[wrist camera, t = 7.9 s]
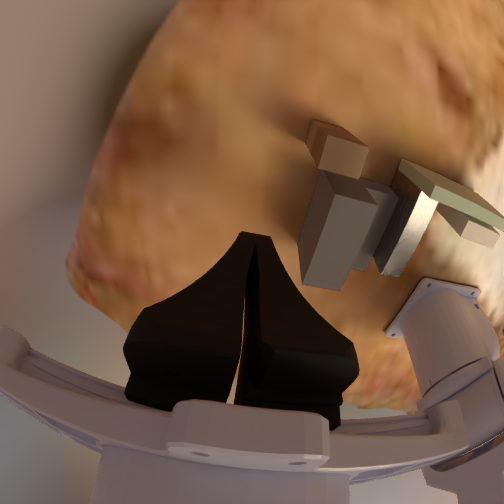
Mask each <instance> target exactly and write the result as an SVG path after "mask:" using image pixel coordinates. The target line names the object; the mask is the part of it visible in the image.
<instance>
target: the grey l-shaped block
mask: <svg viewBox="0 0 504 504" xmlns="http://www.w3.org/2000/svg"><path fill="white" fill-rule="evenodd" d="M391 189H392V190H393V192H394V193H395V194H396V195H397V196H398V197H399V199H398V202H397V204H396V207H395V209H394V211H393V213H392V216H391V218H390V220H389V223H388V225H387V227H386V229H385V231H384V233H383V236H382V238H381V240H380V242H379V244H378V246H377V248H376V250H375V252H374V254H373V257H374V259H375V262H376V264H377V266H378V268H379V271H380V273H381V274H382V275H388V276H393V277H398V278H399V277H400V275H401V274H402V272H403V270H404V268H405V267H406V265H407V263H408V261H409V260H410V258H411V256H412V254H413V252H414V251H415V249H416V247H417V245H418V243H419V241H420V239H421V237H422V235H423V233H424V231H425V229H426V227H427V225H428V223H429V221H430V219H431V217H432V215H433V213H434V211H435V209H436V206H437V204H438V202H440V203H442V204H445V205H447V206H450V207H452V208H454V209H457V210H459V211H461V212H464V213H466V214H468V215H470V216H472V217H475V218H477V219H479V220H481V221H483V222H485V223H487V224H489V225H491V226H493V227H495V228H497V229H499V230H501V231H503V232H504V216H503V215H501V214H500V213H499V212H498V211H497V210H496V209H495V208H494V207H493V206H492V205H490V204H489V203H488V202H487V201H486V200H485V199H483V198H482V197H481V196H480V195H479V194H477V193H476V192H474V191H472V190H470V189H468V188H466V187H464V186H462V185H460V184H458V183H456V182H454V181H452V180H450V179H448V178H446V177H444V176H442V175H440V174H438V173H435V172H433V171H431V170H429V169H426V168H424V167H422V166H419V165H417V164H415V163H412V162H410V161H407V160H405V159H401V162H400V165H399V168H398V170H397V173H396V176H395V178H394V181H393V184H392V186H391Z"/></svg>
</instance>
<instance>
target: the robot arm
mask: <svg viewBox="0 0 504 504" xmlns="http://www.w3.org/2000/svg"><path fill="white" fill-rule="evenodd" d="M480 293H481V291H480V289H479V288H474V287H469V286H464V285H459V284H454V283H449V282H445V281H440V280H435V279H430V278H424V279H422V280H421V281H420V283H419V284H418V286H417V287H416V289H415V290H414V292H413V293H412V295H411V296H410V298H409V299H408V301H407V302H406V304H405V305H404V307H403V308H402V309H401V311H400V312H399V314H398V315H397V316H396V318H395V319H394V320H393V322H392V323H391V325H390V326H389V327H388V328H387V330H386V331H385V336H386V337H391V338H404V339H405V342H406V345H407V348H408V351H409V354H410V357H411V360H412V364H413V367H414V370H415V374H416V377H417V381H418V385H419V388H420V392H421V396H422V398H421V399H420V400H418V401H417V402H416V404H417V409H418V411H416V412H415V413H414V414H409V415H401V416H392V417H382V418H369V419H349V420H348V419H347V420H341V419H340V407H339V406H340V405H342V403H343V399H342V393H343V392H344V391H345V390H346V389H347V388H348V387H349V386H350V385H351V384H352V383H353V382H354V381H355V379H356V378H357V376H358V375H359V370H360V369H359V364H358V358H357V354H356V351H355V348H354V345H353V342H352V341H350V340H349V339H348V338H346V337H345V336H344V335H342V334H341V333H340V332H338V331H337V330H336V329H335V328H333V327H332V326H331V325H330V324H329V323H328V322H327V321H326V320H325V319H323V318H322V317H321V316H320V315H319V314H318V313H317V312H316V311H315V309H314V308H313V307H312V306H311V305H310V304H309V303H308V302H307V301H306V299H305V298H304V297H303V296H302V294H301V293H300V292H299V290H298V289H297V288H296V286H295V285H294V283H293V281H292V280H291V278H290V277H289V275H288V273H287V271H286V270H285V268H284V266H283V264H282V262H281V260H280V258H279V256H278V253H277V251H276V249H275V246H274V244H273V241H272V239H271V237H270V236H265V235H260V234H255V233H249V232H244V231H242V232H240V233H239V235H238V237H237V239H236V240H235V242H234V243H233V245H232V246H231V247H230V248H229V250H228V251H227V252H226V253H225V255H224V256H223V257H222V258H221V259H220V260H219V261H218V262H217V263H216V264H215V265H214V266H213V267H212V268H211V269H210V270H209V271H208V272H207V273H205V274H204V275H203V276H202V277H200V278H199V279H198V280H196V281H195V282H194V283H192V284H191V285H189V286H188V287H186V288H185V289H183V290H182V291H180V292H178V293H176V294H175V295H173V296H171V297H169V298H167V299H165V300H163V301H161V302H159V303H156V304H154V305H152V306H149V307H146V308H144V309H143V311H142V312H141V313H140V315H139V316H138V318H137V319H136V321H135V322H134V324H133V325H132V327H131V329H130V331H129V334H128V336H127V339H126V341H125V343H124V346H123V352H124V356H125V358H126V361H127V364H128V366H129V369H130V372H131V375H130V377H129V380H128V383H127V386H126V388H125V387H122V386H119V385H116V384H113V383H110V382H107V381H104V380H102V379H99V378H96V377H94V376H91V375H89V374H86V373H84V372H81V371H79V370H77V369H74V368H72V367H70V366H67V365H65V364H63V363H60V362H58V361H56V360H54V359H52V358H50V357H47V356H46V355H44V354H42V353H40V352H38V351H36V350H34V349H32V348H31V347H30V344H29V343H28V341H27V340H26V339H25V338H24V337H23V336H22V335H21V334H20V333H18V332H16V331H15V330H13V329H11V328H9V327H8V326H6V325H3V326H2V328H1V329H0V394H1V395H2V396H3V397H4V398H5V399H7V400H8V401H9V402H11V403H12V404H14V405H15V406H16V407H18V408H19V409H21V410H22V411H24V412H25V413H27V414H28V415H30V416H31V417H33V418H35V419H36V420H38V421H39V422H41V423H43V424H44V425H46V426H48V427H50V428H51V429H53V430H55V431H56V432H58V433H60V434H62V435H63V436H66V437H67V438H69V439H71V440H73V441H75V442H77V443H79V444H81V445H83V446H85V447H87V448H89V449H92V450H94V451H96V452H98V453H101V454H102V456H101V459H100V463H99V467H98V471H97V475H96V478H95V482H94V486H93V491H92V495H91V499H90V504H349V485H353V484H359V483H364V482H370V481H374V480H379V479H383V478H388V477H392V476H396V475H400V474H403V473H407V472H410V471H414V470H417V469H421V470H422V472H423V475H424V477H425V480H426V483H427V485H429V486H431V487H434V488H437V489H441V490H445V491H449V492H452V493H455V494H457V498H458V504H504V359H501V358H499V354H500V344H499V339H498V336H497V334H496V332H495V330H494V328H493V326H492V324H491V323H490V321H489V319H488V317H487V315H486V313H485V312H484V310H483V308H482V306H481V305H480V303H479V301H478V300H477V298H478V297H479V295H480ZM244 298H245V309H244ZM243 311H244V335H243V344H242V329H243ZM241 346H242V351H241ZM240 354H241V359H240ZM239 359H240V366H239V372H238V379H237V386H236V393H235V399H234V404H228V403H226V402H227V399H228V396H229V394H230V391H231V387H232V384H233V380H234V377H235V373H236V370H237V366H238V363H239ZM502 432H503V433H502ZM501 433H502V434H501ZM499 434H500V435H499ZM497 435H499V436H497ZM496 436H497V437H496ZM494 437H495V438H494ZM492 438H494V439H492ZM491 439H492V440H491ZM489 440H490V441H489ZM487 441H489V442H487ZM485 442H487V443H485ZM484 443H485V444H484ZM482 444H483V445H482ZM480 445H481V446H480ZM478 446H479V447H478ZM476 447H478V448H476ZM474 448H476V449H474ZM472 449H474V450H472ZM470 450H472V451H470ZM468 451H470V452H468ZM467 452H468V453H467ZM465 453H466V454H465ZM462 454H464V455H462ZM460 455H461V456H460Z"/></svg>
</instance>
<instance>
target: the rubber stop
mask: <svg viewBox="0 0 504 504" xmlns="http://www.w3.org/2000/svg"><path fill="white" fill-rule="evenodd" d="M398 199H399V197H398V196H397V195H396V194H395V193H394V192H393V190H392V189H391V188H390V187H389V186H386V185H383V184H380V183H377V182H374V181H370V180H367V179H364V178H359V180H358V179H355V178H352V177H348V176H344V175H341V174H337V173H333V172H330V171H326V170H322V169H320V173H319V176H318V179H317V183H316V186H315V189H314V193H313V196H312V199H311V203H310V206H309V209H308V212H307V215H306V219H305V222H304V225H303V228H302V231H301V234H300V237H299V240H298V244H297V245H298V253H299V262H300V271H301V280H302V285H307V286H313V287H319V288H325V289H331V290H338V291H340V290H341V288H342V286H343V284H344V282H345V280H346V278H347V276H348V274H349V272H350V270H351V269H353V270H358V271H364V272H365V270H366V268H367V266H368V264H369V262H370V260H371V258H372V256H373V254H374V252H375V250H376V248H377V246H378V244H379V242H380V240H381V238H382V236H383V233H384V231H385V229H386V227H387V225H388V223H389V220H390V218H391V216H392V213H393V211H394V209H395V207H396V204H397V202H398Z"/></svg>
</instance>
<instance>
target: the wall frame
mask: <svg viewBox="0 0 504 504" xmlns="http://www.w3.org/2000/svg"><path fill="white" fill-rule="evenodd" d="M306 145H307V147H308V149H309V151H310V153H311V155H312V157H313V159H314V161H315V163H316V165H317V167H318V169H322V170H326V171H330V172H333V173H337V174H341V175H344V176H348V177H352V178H355V179H358V180H359V178H360V175H361V173H362V170H363V167H364V164H365V161H366V158H367V154H368V151H369V147H368V146H367V145H365V144H364V143H363V142H362V141H360V140H359V139H358V138H356V137H355V136H354V135H352V134H351V133H350V132H348V131H347V130H346V129H344V128H342V127H339V126H336V125H332V124H329V123H325V122H321V121H318V120H314V119H312V120H311V124H310V128H309V131H308V135H307V139H306ZM436 210H437V211H438V212H439V213H440V214H441V215H442V216H443V217H444V218H445V220H446V221H447V222H448V223H449V224H450V225H451V226H452V227H453V229H454V230H455V231H456V232H457V233H458V234H459V235H460V237H463V238H466V239H469V240H471V241H474V242H477V243H479V244H482V245H484V246H487V247H489V248H493V247H494V245H495V243H496V241H497V239H498V238H499V236H500V234H499V233H498V232H497V231H496V230H495V229H494V228H493V227H492V226H491V225H489V224H487V223H485V222H483V221H481V220H479V219H477V218H475V217H472V216H470V215H468V214H466V213H464V212H461V211H459V210H457V209H454V208H452V207H450V206H447V205H445V204H442V203H440V202H438V204H437V206H436Z"/></svg>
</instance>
